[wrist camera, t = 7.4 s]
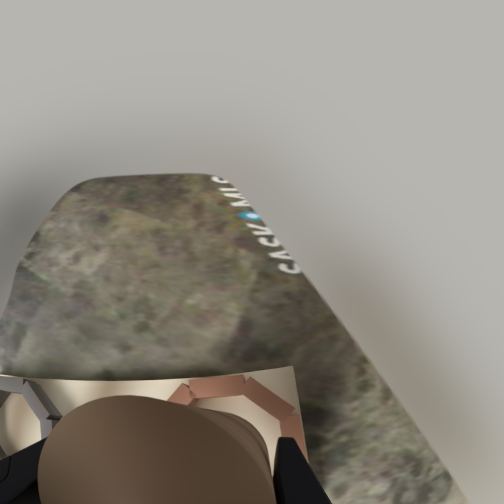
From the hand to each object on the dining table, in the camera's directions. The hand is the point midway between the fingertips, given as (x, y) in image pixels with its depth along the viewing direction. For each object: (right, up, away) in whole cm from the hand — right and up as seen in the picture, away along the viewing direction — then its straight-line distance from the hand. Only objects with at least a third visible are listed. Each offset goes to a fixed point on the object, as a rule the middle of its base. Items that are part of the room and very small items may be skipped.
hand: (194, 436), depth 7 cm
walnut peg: (0, -4, +4) cm, 5 cm away
